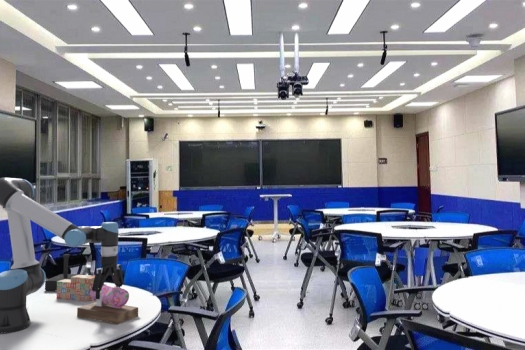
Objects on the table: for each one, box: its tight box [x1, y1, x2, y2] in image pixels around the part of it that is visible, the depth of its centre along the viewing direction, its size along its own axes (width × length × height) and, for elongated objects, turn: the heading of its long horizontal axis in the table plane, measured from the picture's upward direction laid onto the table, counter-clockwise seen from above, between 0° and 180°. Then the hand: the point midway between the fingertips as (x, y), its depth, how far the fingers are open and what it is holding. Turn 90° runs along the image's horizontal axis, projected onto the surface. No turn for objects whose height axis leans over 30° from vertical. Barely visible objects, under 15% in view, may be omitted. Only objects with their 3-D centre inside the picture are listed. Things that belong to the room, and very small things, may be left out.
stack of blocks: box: [56, 274, 95, 302], centre depth 215 cm, size 21×6×12 cm, turn 75°
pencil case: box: [88, 283, 130, 308], centre depth 184 cm, size 21×9×9 cm, turn 52°
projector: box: [44, 253, 85, 292], centre depth 239 cm, size 19×17×20 cm
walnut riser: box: [76, 301, 139, 325], centre depth 184 cm, size 13×25×4 cm, turn 65°
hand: (107, 303), depth 184 cm, fingers closed on pencil case, 10 cm apart
